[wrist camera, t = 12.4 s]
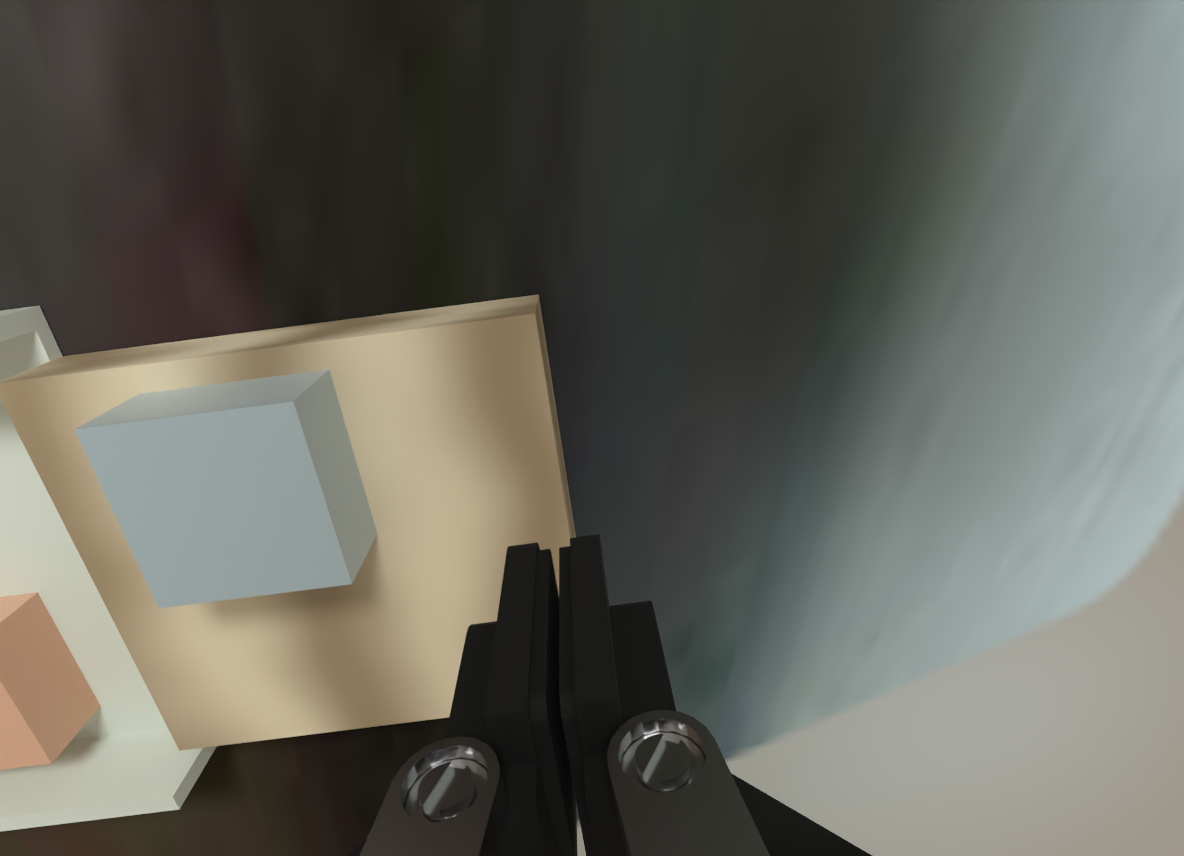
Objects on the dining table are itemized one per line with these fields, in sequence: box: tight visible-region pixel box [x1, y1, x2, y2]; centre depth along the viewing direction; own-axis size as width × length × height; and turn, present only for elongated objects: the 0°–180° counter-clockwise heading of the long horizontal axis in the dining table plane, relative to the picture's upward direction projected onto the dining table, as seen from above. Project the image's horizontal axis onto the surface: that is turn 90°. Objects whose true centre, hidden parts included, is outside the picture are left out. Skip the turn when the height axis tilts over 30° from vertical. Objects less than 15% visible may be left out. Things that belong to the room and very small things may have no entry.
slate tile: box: [75, 369, 377, 608], centre depth 17 cm, size 5×5×2 cm
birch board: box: [0, 295, 576, 751], centre depth 20 cm, size 14×13×2 cm
